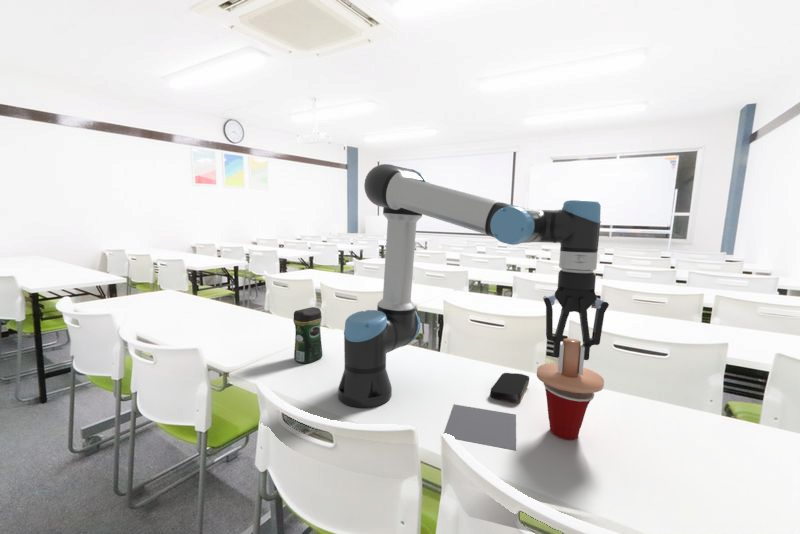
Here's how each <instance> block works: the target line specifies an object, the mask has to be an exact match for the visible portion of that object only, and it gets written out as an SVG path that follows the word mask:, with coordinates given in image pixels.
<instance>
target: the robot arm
mask: <svg viewBox="0 0 800 534" xmlns="http://www.w3.org/2000/svg"><path fill="white" fill-rule="evenodd" d="M363 185H364V186H363V187H364V193H365V195H366V197H367V199H368V200H369V201H370V203H372V204H374V205H375V206H377V207H380V208H382V209H383V210H382V214H383V216H384V218H386V219H387V225H386V226H387V227H386V228H387V229H386V242H385V257H384V274H383V289H382V291H383V292H382V298H381V299H380V300H379V301H377V306H376V307H377V308H376V310H374V309H367V310H360V311H357V312H355V313H352V314H350V315H349V316H348V317H347V318H346V319H345V323H344V330H343V336H344V339H343V340H344V370H343V373H342V375H341V379H340V382H339V385H338V388H337V394H338V395H337V396H338V399H339V401H340V402H341V403H342V404H344V405H346V406H349V407H354V408H359V409H360V408H374V407H378V406H382V405H384V404H386V403H387V402H389V401H390V399H392V392H393V391H392V388H393V387H392V384H391V380H390V378H389V377H390V376H389V374H388V370H387V354H388V353H390V352H392V351H394V350H397V349H398V348H401V347H406V346H408V345H409V344H410V343H412V342H413V341H414V340H415V339H416V338H417V337H418V335H419V333H420V330H421V319H420V316H418V312H417V311H416V305H415V303H414V302H413V301H412V299H411V298H412V289H413V288H412V285H413V276H414V275H413V273H414V271H413V270H414V259H415V258H414V257H415V248H416V247H415V246H416V233H417V223H418V221H419V220H420V219H421V218H422V217H423V216H427V217H430V218H433V219H436V220H439V221H442V222H445V223H449V224H451V225H454V226H458V227H460V228H461V227H462V228H464V229H468V230H471V231H474V232H477V233H480V234H483V235H487V236H490V238H495V239H496V240H497V241H498V242H500V243H503V244H507V245H512V246H513V245H520V244H528V243H548V244H549V243H551V244H552V243H553V244H560V249H559V262H558V267H559V268H560V270H559V271H558V276H557V288H556V290H555V292H554V294H552V295H544V296H543V298H542V300H543V303H544V304H545V336H546V339H547V340H548V341H551V342H553V349H552V350H553V355H554V356H553V357H555V358H556V357H557V363H558V364H557V369H558V372H561V373H562V366H563V353H564V344H563V339H562V338H563V335H564V331H565V328H566V324H567V321H568V317H569V316H570V313H572V312H573V313H574V312H576V313H578V314H579V320H580V321H579V322H580V323H579V324H580V328H581V338H582V343H581V345H580V357H579V370H578V374H579V375H583V368H584V364H585V363H584V362H585V361H588V360H589V359H590V351H591V347H592V346H599V345H600V343H601V337H602V331H603V324H604V318H605V312H606V311H607V309H608V308H609V305H610V304H609V303H608V302H607V301H606V300H605V299H601V298H598V297H597V294H596V292H595V290H596V280H597V279H596V278H597V277H596V276H597V274H596V273H595V272H594V271H596V270H597V264H598V251H599V249H598V248H599V241H600V231H601V230H600V229H601V223H602V221H601V209H602V208H601V204H600V202H599V201H597V200H592V199H591V200H590V199H574V200H573V199H571V200H565V201H564V202H563V205H562V208H561V209H554V210H553V209H552V210H551V209H530V208H524V207H521V206H518V205H517V206H516V205H513V204H510V203H505V202H501V201H498V200H494V199H490V198H488V197H482V196H480V195H475V194H471V193H467V192H464V191H459V190H456V189H453V188H448V187H445V186H441V185H437V184H433V183H430V182H429V180H428V179H427V177H426V175H424V174H422V173H421V172H419V171H417V170H415V169H412V168H407V167H401V166H397V165H393V164H389V163H388V164H386V163H382V164H378V165H376V166H374V167H372V169H370V170H369V171H368V173H367V175H366V176H365V180H364V183H363ZM555 301H558V303H559V305H560V306H561V309H560V314H559V318H558V322H557V327H556V329H555V333H554V334H553V324H554V323H553V320H554V319H553V317H554V315H553V313H554V311H553V309H554V308H553V306H554V305H555ZM594 303H595V304H594ZM593 304H594V307H595V308H596V310H595V315H594V321H593V328H592V334H591V337H590V330H589V329H590V328H589V320H588V309H589V308H590V307H591V306H592V305H593Z"/></svg>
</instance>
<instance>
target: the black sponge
mask: <svg viewBox="0 0 800 534" xmlns="http://www.w3.org/2000/svg"><path fill="white" fill-rule="evenodd" d="M529 383H530V375H527V374H526V375H525V374H523V373H516V372H515V373H512V372H504V373H502V374H501V375H500V377H498V378H497V380H496V382H495V383H494V384H493V386H491V388H490V393H489V395H490V398H491V399H493V400H498V401H504V402H509V403H513V404H514V403H515V404H519V403H521V401H522V399H523V397H524V395H525V393H526V391H527V388H528V386H529Z"/></svg>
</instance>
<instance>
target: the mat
mask: <svg viewBox="0 0 800 534" xmlns="http://www.w3.org/2000/svg"><path fill="white" fill-rule="evenodd" d="M444 433H447V434H450V435H452V436H454V437H455V439H454V440H459V441H463V442H469V443H473V444H474V443H475V444H479V445H480V444H481V445H486V446H488V447H489V446H491V447H496V448H501V449H506V450H509V451H514V452H515V451H517V414H515V413H509V412H504V411H497V410H491V409H485V408H484V409H483V408H478V407H472V406H467V405H466V406H465V405H461V404H460V405H459V404H453V405H452V408H451V411H450V414H449V418H448V420H447V423H446V425H445V427H444V431H443V434H444Z"/></svg>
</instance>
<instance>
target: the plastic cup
mask: <svg viewBox="0 0 800 534" xmlns="http://www.w3.org/2000/svg"><path fill="white" fill-rule="evenodd" d="M543 386H544V390H545V396H546V403H547V405H546V406H547V407H546V408H547V414H548V416H547V417H548V421H549V430H550V432H551V434H552V435H554V436H555V437H557V438H559V439H563V440H565V441H566V440H568V441H571V440H572V441H573V440H576V439H578V437H579V436H580V435H579V434H580V430H581V427H582V425H583V422H584V418H585V414H586V411H587V409H588V406H589V404H590V402H591V401H592V400H594V397H595V393H574V392H568V391H564V390H560V389H557V388H554V387H551V386H549V385H547V384H545V383H543Z"/></svg>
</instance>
